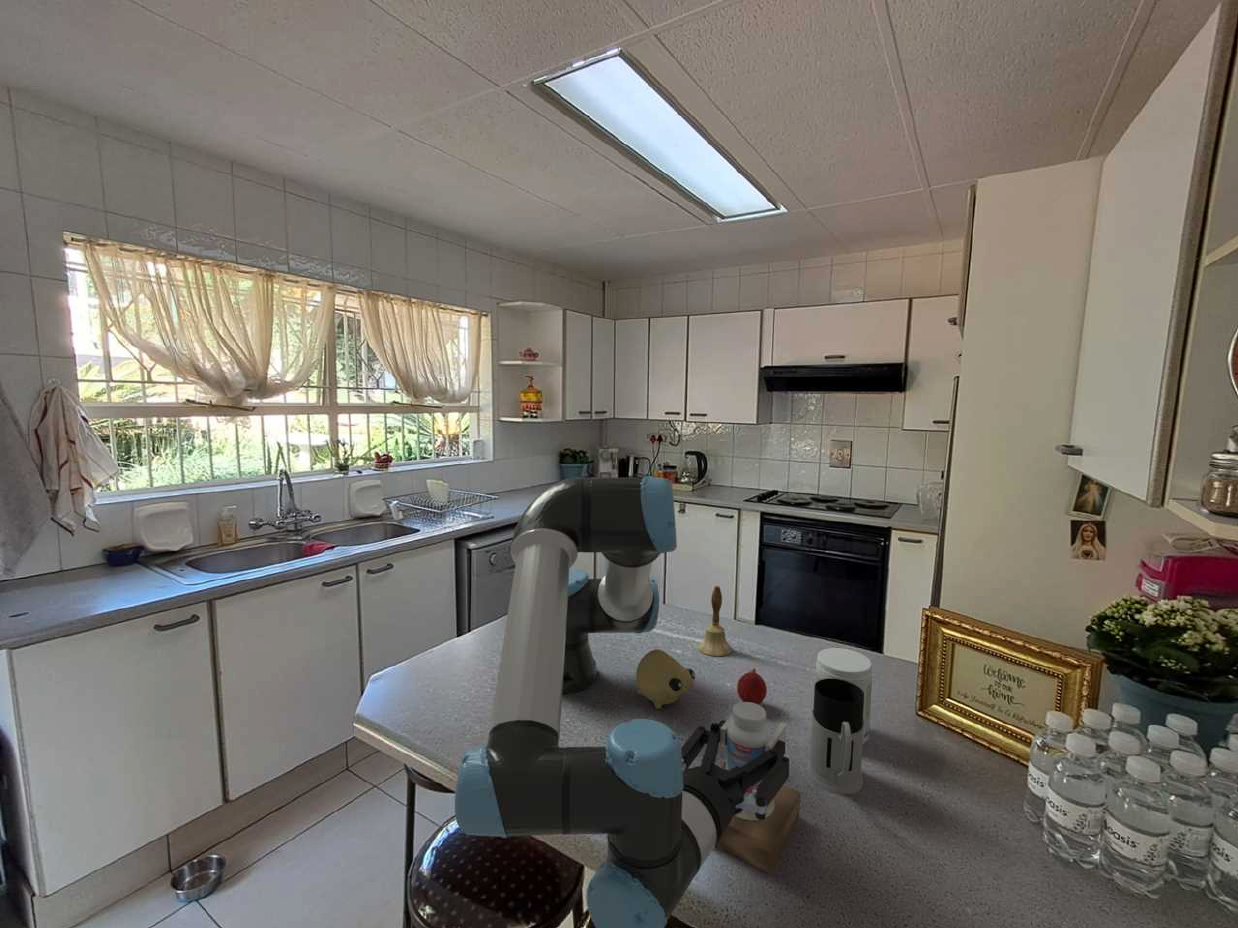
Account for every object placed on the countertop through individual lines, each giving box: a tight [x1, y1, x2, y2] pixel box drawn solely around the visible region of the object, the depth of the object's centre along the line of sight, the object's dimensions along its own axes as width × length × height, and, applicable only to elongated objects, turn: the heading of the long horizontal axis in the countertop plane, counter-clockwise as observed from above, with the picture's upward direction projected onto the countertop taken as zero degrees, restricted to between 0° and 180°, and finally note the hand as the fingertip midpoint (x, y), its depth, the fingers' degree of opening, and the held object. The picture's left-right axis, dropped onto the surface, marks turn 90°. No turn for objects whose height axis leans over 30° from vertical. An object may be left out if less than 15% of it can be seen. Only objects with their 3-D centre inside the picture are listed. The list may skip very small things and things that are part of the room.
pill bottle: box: [725, 701, 771, 796], centre depth 79 cm, size 6×6×11 cm
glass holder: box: [806, 678, 864, 795], centre depth 87 cm, size 9×14×15 cm, turn 167°
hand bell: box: [697, 585, 733, 657], centre depth 135 cm, size 8×8×16 cm
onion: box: [736, 667, 768, 705], centre depth 110 cm, size 6×6×8 cm
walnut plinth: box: [714, 761, 801, 875], centre depth 80 cm, size 12×12×4 cm
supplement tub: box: [815, 647, 873, 745], centre depth 101 cm, size 10×10×15 cm
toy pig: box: [635, 648, 696, 710], centre depth 111 cm, size 10×12×11 cm
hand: (761, 723), depth 83 cm, fingers closed on pill bottle, 6 cm apart
